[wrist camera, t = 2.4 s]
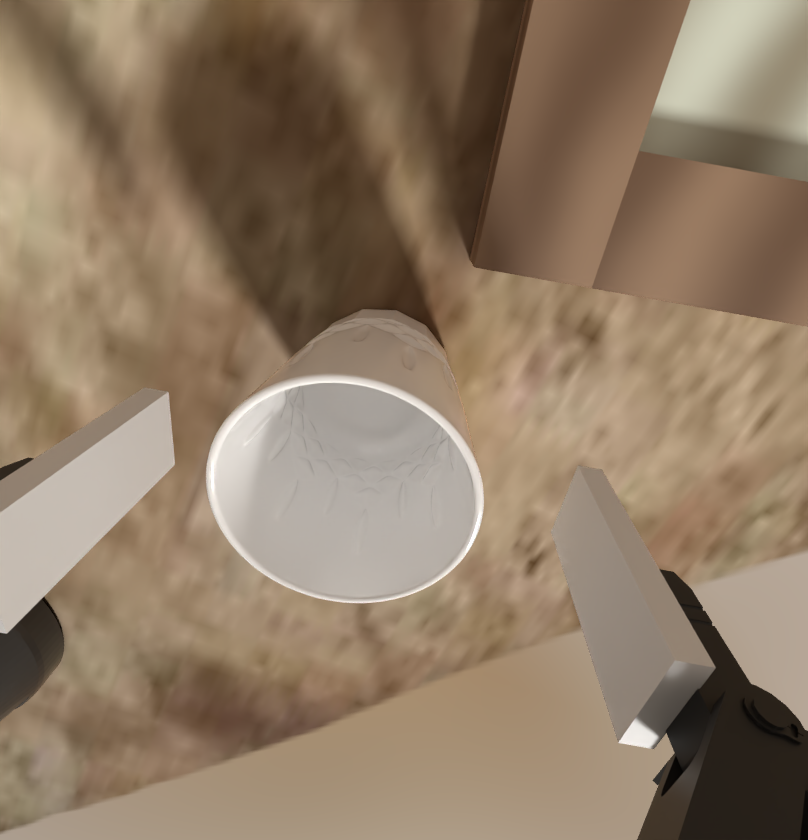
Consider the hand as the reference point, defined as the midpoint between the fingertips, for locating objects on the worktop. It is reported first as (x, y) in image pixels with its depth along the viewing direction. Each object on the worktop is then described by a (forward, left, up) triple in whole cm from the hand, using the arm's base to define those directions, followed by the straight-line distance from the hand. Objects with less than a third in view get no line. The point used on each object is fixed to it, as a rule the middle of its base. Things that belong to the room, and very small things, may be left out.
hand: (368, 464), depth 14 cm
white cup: (0, 0, -8) cm, 8 cm away
